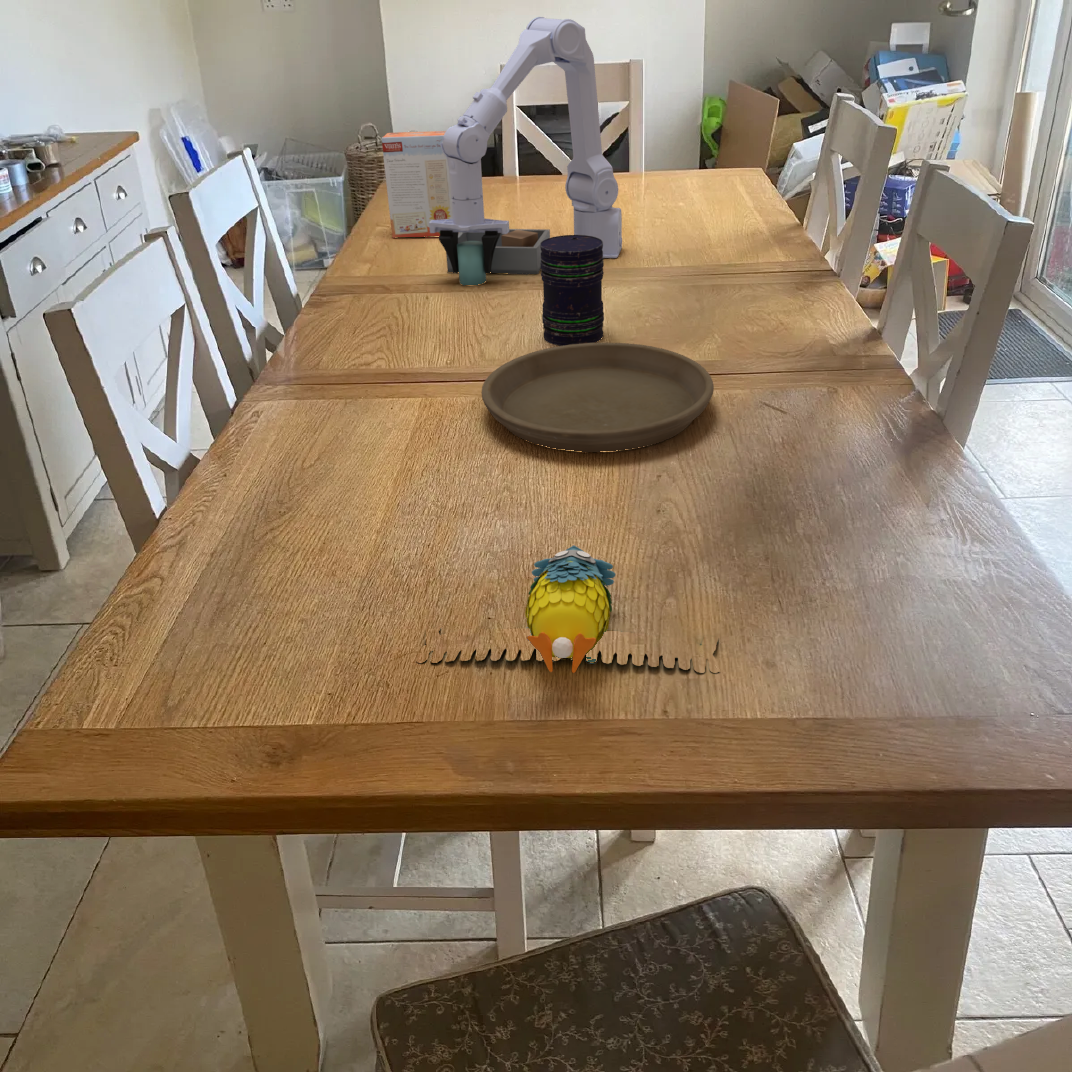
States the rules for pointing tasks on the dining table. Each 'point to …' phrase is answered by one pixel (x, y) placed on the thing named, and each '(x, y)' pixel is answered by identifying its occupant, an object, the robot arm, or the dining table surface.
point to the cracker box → (416, 182)
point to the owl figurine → (569, 605)
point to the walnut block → (519, 239)
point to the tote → (510, 254)
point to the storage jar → (572, 289)
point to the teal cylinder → (471, 263)
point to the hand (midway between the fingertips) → (472, 271)
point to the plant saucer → (598, 396)
